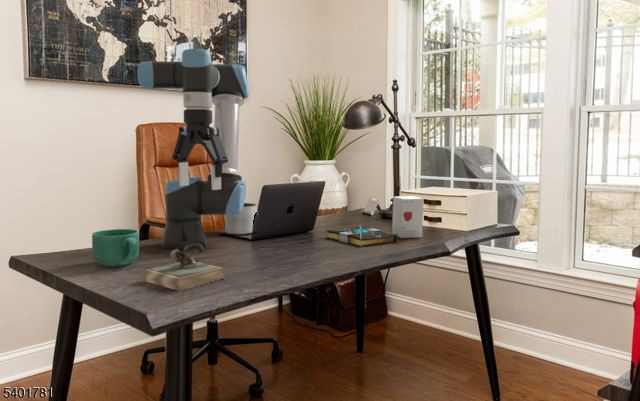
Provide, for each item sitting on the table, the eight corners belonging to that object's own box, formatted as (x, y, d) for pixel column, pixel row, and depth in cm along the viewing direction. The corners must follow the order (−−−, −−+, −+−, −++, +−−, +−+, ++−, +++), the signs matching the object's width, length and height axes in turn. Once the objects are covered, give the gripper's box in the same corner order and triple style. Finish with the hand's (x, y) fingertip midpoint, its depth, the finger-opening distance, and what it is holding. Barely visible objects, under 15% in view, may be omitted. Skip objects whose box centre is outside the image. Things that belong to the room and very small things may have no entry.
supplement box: (400, 238, 199) (401, 198, 198) (391, 234, 208) (392, 196, 206) (423, 237, 201) (424, 198, 200) (413, 233, 210) (414, 195, 208)
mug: (86, 264, 155) (84, 231, 154) (127, 257, 164) (126, 227, 163) (110, 274, 144) (108, 239, 142) (153, 267, 152) (152, 234, 151)
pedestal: (144, 281, 136) (144, 269, 136) (189, 271, 147) (188, 259, 147) (179, 291, 128) (179, 277, 128) (223, 279, 139) (223, 267, 139)
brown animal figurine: (201, 266, 135) (213, 252, 143) (184, 243, 133) (197, 231, 142) (179, 280, 137) (192, 265, 145) (162, 257, 136) (176, 244, 144)
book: (398, 243, 192) (398, 229, 191) (361, 248, 182) (361, 234, 182) (360, 234, 209) (360, 222, 209) (325, 239, 200) (325, 225, 200)
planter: (221, 231, 212) (220, 203, 211) (251, 229, 218) (250, 202, 217) (230, 236, 201) (230, 207, 200) (262, 234, 207) (262, 205, 206)
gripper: (157, 109, 148) (160, 185, 151) (218, 108, 133) (220, 192, 136) (180, 109, 154) (182, 183, 157) (240, 108, 139) (241, 189, 142)
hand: (199, 187), depth 147 cm, fingers open, 13 cm apart
